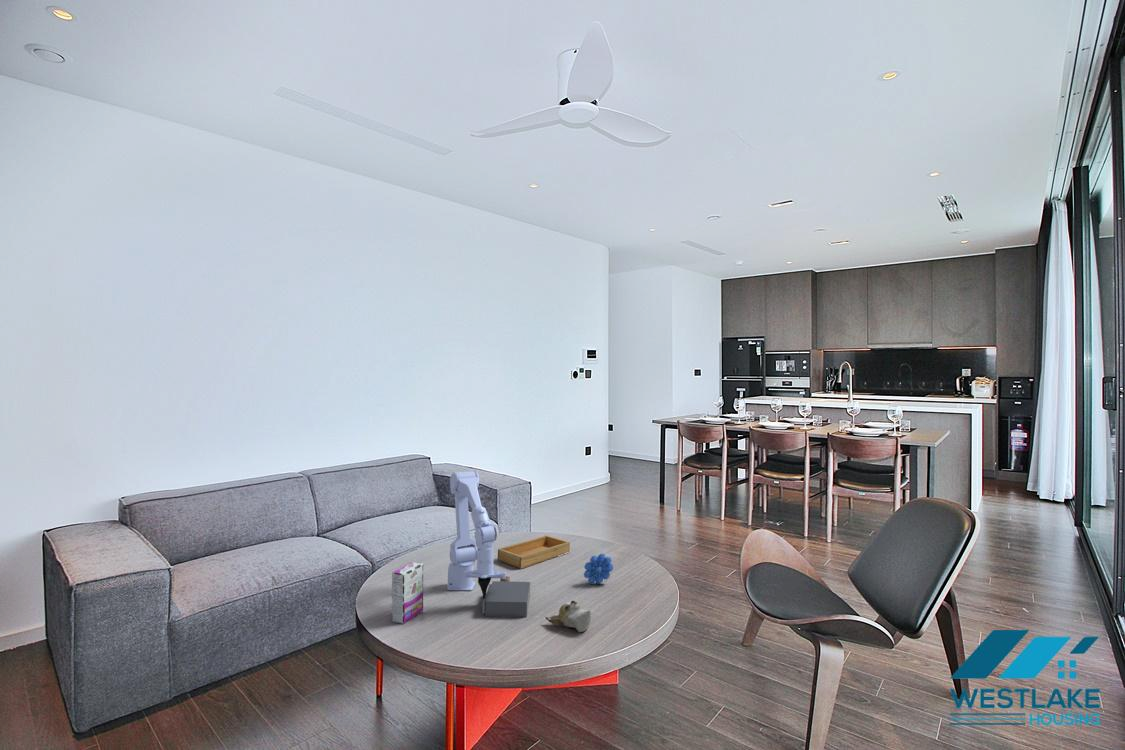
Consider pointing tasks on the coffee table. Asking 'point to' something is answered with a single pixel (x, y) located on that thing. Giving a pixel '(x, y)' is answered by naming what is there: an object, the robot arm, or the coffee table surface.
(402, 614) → the candy bar box
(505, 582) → the player housing
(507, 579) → the walnut disc stand
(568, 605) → the ceramic sculpture
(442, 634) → the coffee table surface
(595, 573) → the blue flower shape
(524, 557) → the tray
